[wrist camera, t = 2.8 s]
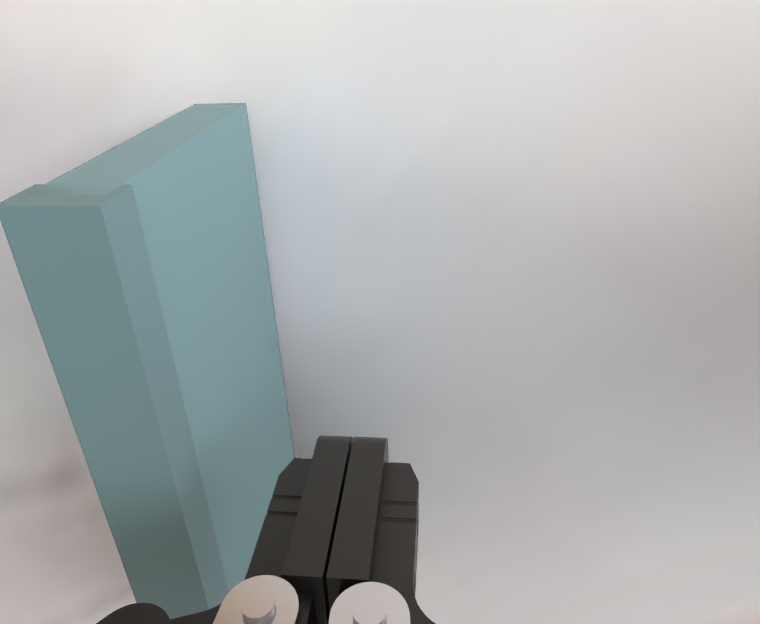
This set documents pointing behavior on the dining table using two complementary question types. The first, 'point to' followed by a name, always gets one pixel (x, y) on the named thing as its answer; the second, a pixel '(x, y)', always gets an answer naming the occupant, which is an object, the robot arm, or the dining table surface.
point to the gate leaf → (165, 345)
